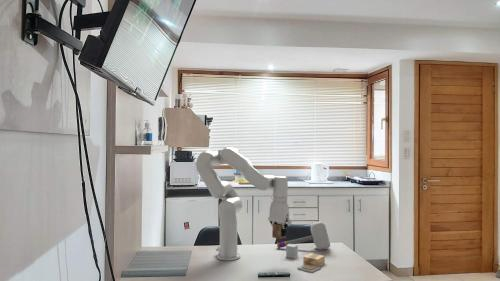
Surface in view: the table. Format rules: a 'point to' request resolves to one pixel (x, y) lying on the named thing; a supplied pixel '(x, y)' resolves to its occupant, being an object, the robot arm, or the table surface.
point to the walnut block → (277, 231)
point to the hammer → (312, 237)
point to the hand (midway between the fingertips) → (279, 234)
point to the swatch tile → (309, 268)
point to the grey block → (292, 250)
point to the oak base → (314, 259)
